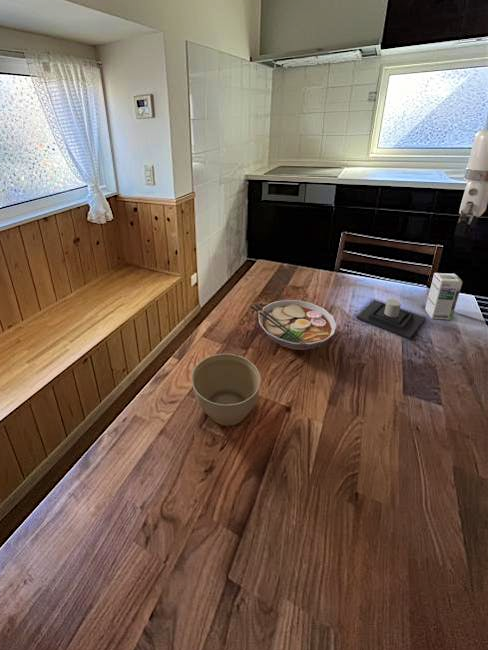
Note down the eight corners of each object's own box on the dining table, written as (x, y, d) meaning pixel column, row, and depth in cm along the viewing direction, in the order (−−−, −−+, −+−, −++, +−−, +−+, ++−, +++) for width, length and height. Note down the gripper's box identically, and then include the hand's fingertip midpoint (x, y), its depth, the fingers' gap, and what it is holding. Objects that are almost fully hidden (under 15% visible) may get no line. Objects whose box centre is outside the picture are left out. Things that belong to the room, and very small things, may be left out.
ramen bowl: (353, 349, 100) (357, 327, 96) (293, 378, 91) (295, 354, 88) (295, 309, 120) (296, 289, 117) (241, 329, 112) (241, 308, 109)
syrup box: (431, 319, 110) (442, 280, 104) (424, 309, 115) (434, 271, 109) (451, 320, 109) (463, 281, 103) (443, 310, 114) (454, 272, 108)
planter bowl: (210, 377, 93) (208, 346, 89) (267, 397, 86) (269, 364, 81) (182, 423, 81) (178, 389, 76) (246, 450, 73) (247, 415, 69)
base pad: (425, 320, 110) (426, 314, 109) (409, 340, 102) (411, 334, 101) (373, 302, 121) (374, 297, 120) (356, 318, 113) (357, 313, 112)
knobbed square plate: (406, 316, 111) (409, 301, 108) (398, 326, 107) (401, 310, 104) (383, 308, 116) (386, 294, 113) (375, 317, 111) (377, 302, 109)
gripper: (491, 182, 89) (473, 242, 96) (504, 171, 99) (486, 226, 106) (457, 179, 94) (442, 236, 101) (472, 169, 104) (457, 221, 111)
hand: (465, 231), depth 103 cm, fingers open, 9 cm apart
